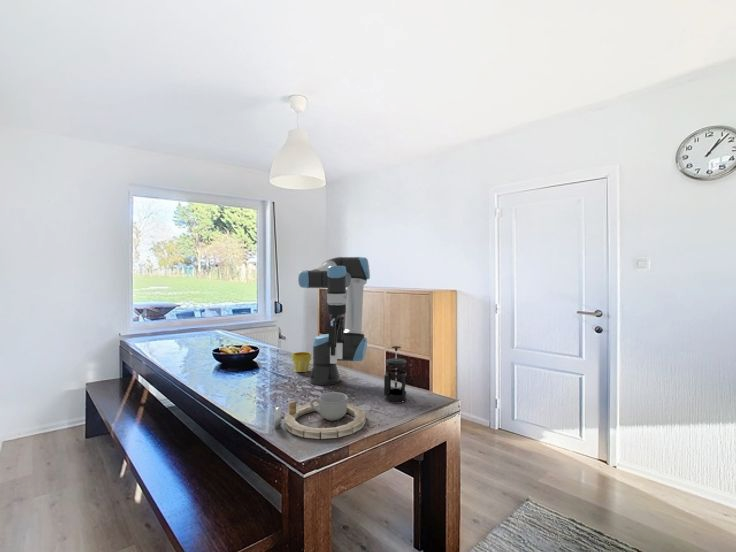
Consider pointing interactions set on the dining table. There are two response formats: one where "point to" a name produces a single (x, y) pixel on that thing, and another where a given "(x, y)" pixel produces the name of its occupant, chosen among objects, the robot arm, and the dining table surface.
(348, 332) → the robot arm
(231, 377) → the dining table surface
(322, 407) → the teacup
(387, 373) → the french press
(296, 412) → the ring
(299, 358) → the plant pot
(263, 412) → the dining table surface
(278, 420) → the shiny cylinder
